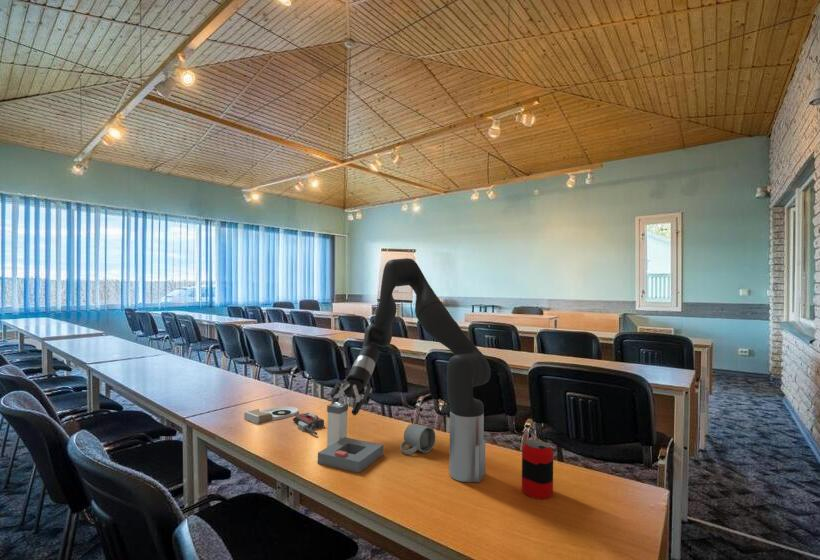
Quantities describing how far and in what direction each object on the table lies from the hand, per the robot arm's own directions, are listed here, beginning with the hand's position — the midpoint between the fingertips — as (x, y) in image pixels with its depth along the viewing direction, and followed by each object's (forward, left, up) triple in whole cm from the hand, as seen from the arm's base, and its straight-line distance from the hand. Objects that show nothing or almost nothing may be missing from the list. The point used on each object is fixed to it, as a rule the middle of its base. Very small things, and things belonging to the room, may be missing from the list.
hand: (342, 412), depth 137 cm
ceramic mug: (-25, -5, -10) cm, 27 cm away
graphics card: (+40, -12, -10) cm, 43 cm away
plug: (0, +3, -10) cm, 10 cm away
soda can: (-63, +6, -10) cm, 64 cm away
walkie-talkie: (+18, -7, -10) cm, 22 cm away
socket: (-10, +10, -10) cm, 17 cm away
